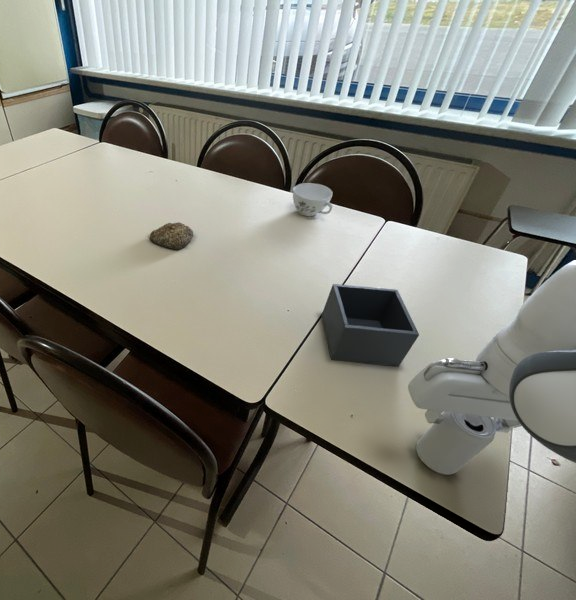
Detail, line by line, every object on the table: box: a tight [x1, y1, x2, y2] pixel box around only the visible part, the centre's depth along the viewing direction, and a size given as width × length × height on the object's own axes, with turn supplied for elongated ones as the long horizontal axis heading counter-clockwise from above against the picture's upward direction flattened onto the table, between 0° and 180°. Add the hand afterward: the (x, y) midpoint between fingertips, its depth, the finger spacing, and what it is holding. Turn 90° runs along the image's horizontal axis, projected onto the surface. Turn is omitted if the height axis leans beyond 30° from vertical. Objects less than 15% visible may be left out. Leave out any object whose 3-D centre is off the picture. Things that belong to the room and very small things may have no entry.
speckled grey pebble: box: [149, 221, 194, 250], centre depth 112 cm, size 13×12×5 cm
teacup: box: [292, 182, 333, 217], centre depth 122 cm, size 15×12×8 cm
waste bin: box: [320, 283, 420, 368], centre depth 78 cm, size 14×14×10 cm
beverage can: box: [415, 412, 497, 476], centre depth 58 cm, size 6×6×12 cm
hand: (464, 423), depth 55 cm, fingers open, 8 cm apart
